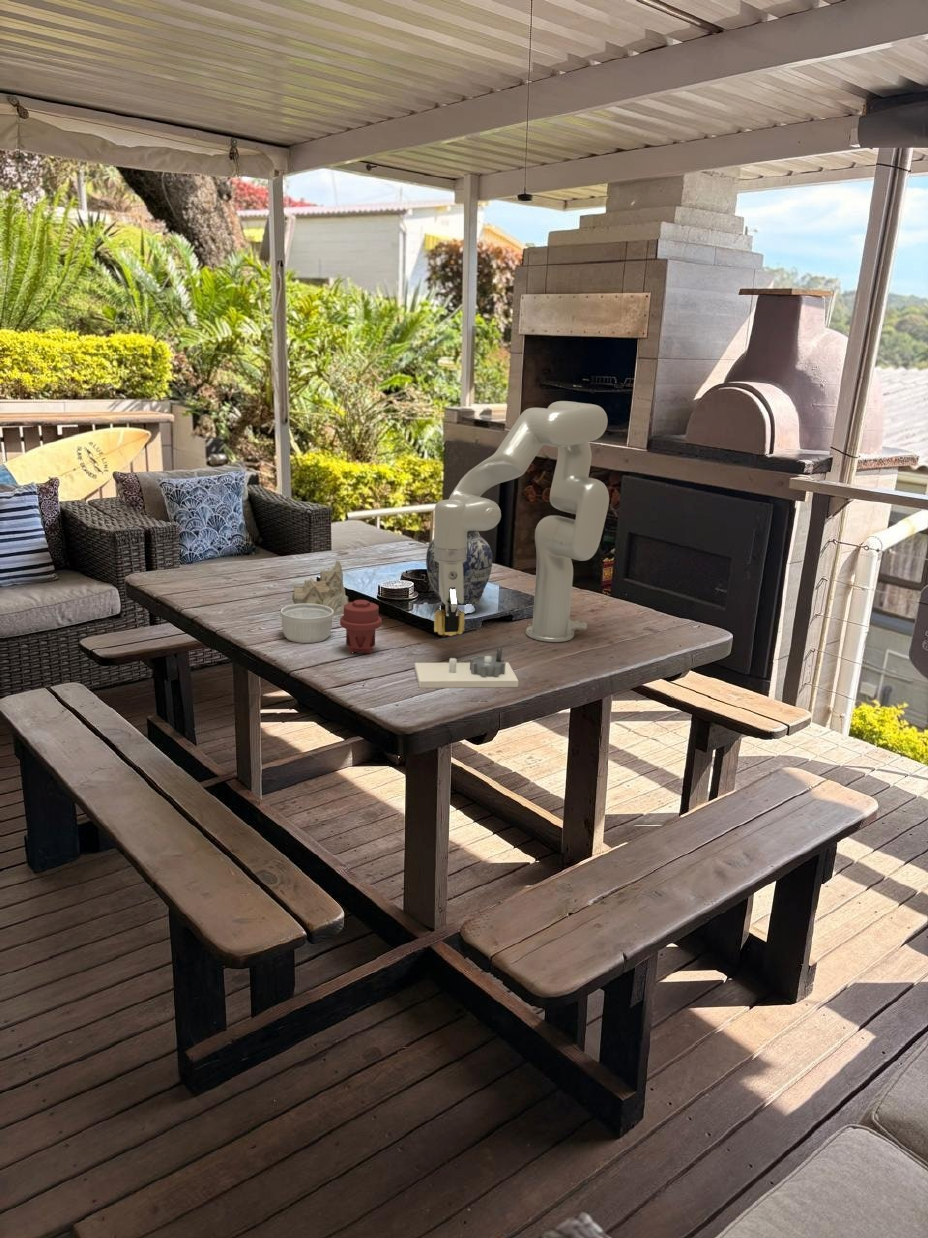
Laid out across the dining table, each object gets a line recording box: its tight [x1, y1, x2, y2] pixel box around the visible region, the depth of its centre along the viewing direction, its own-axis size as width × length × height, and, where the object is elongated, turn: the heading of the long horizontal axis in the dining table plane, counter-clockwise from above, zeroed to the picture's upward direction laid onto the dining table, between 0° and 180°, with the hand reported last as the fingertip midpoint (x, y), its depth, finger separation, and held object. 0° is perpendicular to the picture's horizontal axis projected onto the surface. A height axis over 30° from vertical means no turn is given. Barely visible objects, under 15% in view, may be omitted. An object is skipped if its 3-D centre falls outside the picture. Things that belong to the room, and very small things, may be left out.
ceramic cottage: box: [291, 560, 350, 617], centre depth 253 cm, size 16×16×15 cm
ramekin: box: [279, 603, 335, 644], centre depth 230 cm, size 13×13×7 cm
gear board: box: [414, 647, 519, 689], centre depth 207 cm, size 22×12×7 cm, turn 98°
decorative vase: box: [425, 531, 493, 605], centre depth 256 cm, size 21×19×28 cm
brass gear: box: [433, 608, 466, 637], centre depth 218 cm, size 7×7×4 cm
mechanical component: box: [339, 599, 383, 654], centre depth 221 cm, size 12×10×10 cm
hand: (449, 625), depth 218 cm, fingers closed on brass gear, 7 cm apart
